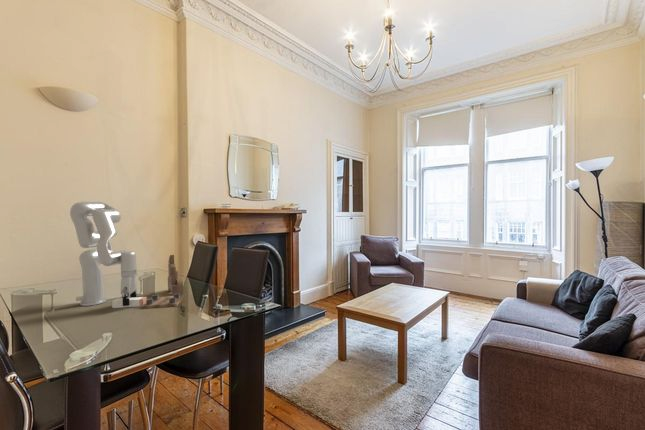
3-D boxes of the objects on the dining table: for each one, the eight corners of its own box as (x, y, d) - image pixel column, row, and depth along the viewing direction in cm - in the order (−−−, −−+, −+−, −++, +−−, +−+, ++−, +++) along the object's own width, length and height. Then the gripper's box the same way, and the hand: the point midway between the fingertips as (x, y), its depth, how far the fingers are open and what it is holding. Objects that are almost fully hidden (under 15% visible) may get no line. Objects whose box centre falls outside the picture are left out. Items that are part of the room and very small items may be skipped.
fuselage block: (112, 308, 171) (112, 301, 170) (116, 305, 176) (116, 298, 175) (143, 306, 173) (143, 299, 173) (146, 303, 178) (146, 296, 178)
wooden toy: (183, 293, 197) (182, 255, 197) (172, 295, 193) (171, 256, 192) (178, 288, 210) (177, 252, 209) (167, 290, 205) (166, 253, 205)
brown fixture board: (142, 308, 169) (142, 301, 169) (151, 300, 183) (151, 294, 183) (176, 306, 173) (176, 299, 173) (183, 298, 186) (183, 292, 186)
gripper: (128, 270, 182) (129, 298, 182) (114, 277, 165) (115, 308, 165) (141, 269, 183) (142, 298, 184) (129, 276, 166) (130, 307, 167)
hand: (129, 302), depth 174 cm, fingers open, 9 cm apart
